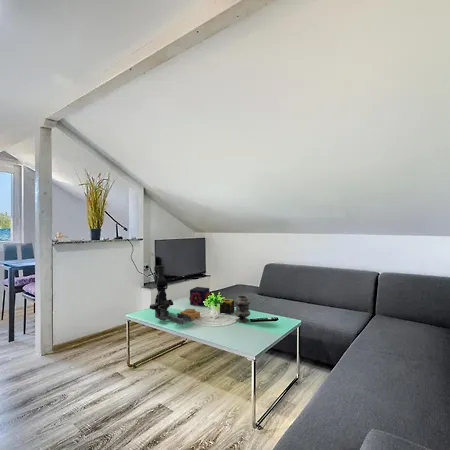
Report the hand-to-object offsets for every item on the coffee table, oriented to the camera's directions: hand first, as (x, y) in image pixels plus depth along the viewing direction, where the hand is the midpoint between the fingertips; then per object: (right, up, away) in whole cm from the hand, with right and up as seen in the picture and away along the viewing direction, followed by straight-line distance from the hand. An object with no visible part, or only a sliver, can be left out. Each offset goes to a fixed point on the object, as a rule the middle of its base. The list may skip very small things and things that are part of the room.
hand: (161, 315), depth 235 cm
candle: (+51, -1, +13) cm, 53 cm away
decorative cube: (+26, -1, +41) cm, 49 cm away
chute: (0, -2, 0) cm, 2 cm away
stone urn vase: (+62, -1, -8) cm, 63 cm away
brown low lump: (+22, -1, +2) cm, 22 cm away
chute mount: (+15, -1, -6) cm, 16 cm away
